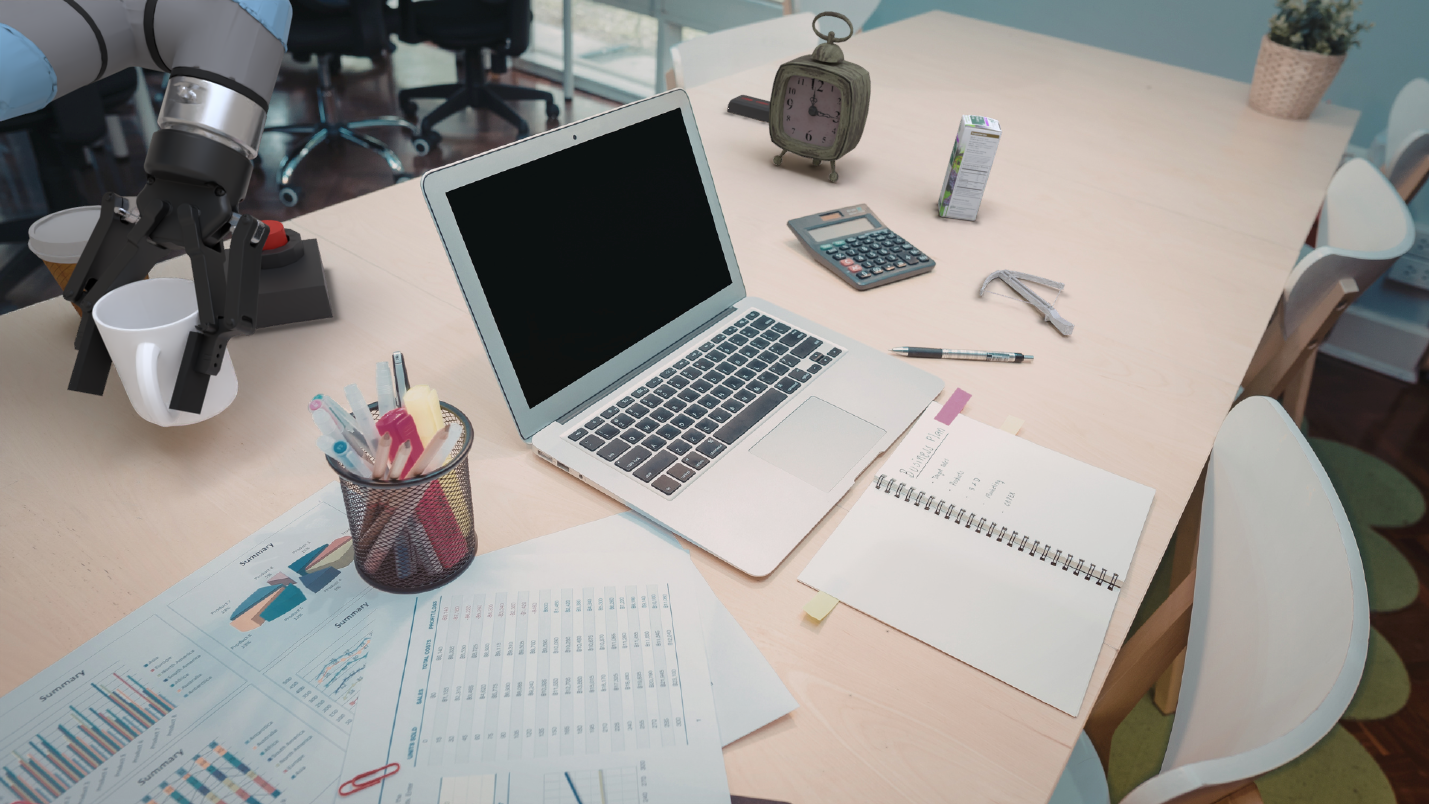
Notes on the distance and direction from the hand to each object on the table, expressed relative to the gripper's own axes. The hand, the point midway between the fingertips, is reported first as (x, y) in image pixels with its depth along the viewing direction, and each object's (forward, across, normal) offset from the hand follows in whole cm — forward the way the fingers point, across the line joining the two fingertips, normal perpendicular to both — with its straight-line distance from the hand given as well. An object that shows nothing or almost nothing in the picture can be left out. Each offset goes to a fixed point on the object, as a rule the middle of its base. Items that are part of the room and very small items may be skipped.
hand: (134, 402), depth 67 cm
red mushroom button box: (-15, -7, +26) cm, 31 cm away
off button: (-21, -9, +23) cm, 32 cm away
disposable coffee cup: (-8, -19, +19) cm, 28 cm away
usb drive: (-77, +38, +88) cm, 123 cm away
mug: (0, +1, +5) cm, 5 cm away
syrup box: (-53, +74, +63) cm, 111 cm away
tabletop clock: (-60, +50, +70) cm, 105 cm away
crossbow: (-34, +83, +44) cm, 99 cm away
